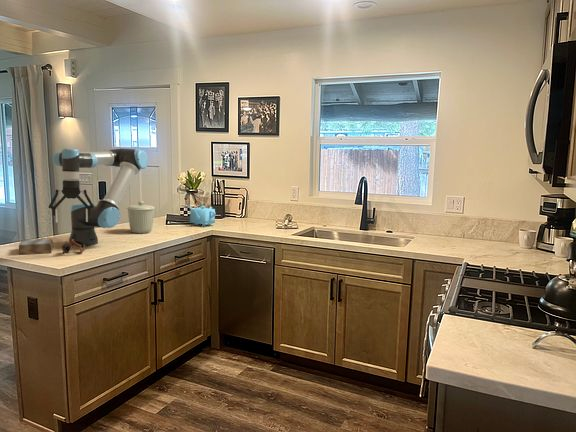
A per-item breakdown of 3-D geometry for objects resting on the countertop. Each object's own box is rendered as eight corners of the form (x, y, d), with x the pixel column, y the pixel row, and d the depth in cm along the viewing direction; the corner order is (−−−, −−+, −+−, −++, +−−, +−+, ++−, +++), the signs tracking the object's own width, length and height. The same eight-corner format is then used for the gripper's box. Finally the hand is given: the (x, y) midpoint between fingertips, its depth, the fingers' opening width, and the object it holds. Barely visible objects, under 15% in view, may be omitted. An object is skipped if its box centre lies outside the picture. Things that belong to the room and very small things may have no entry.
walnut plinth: (52, 247, 227) (52, 238, 226) (51, 253, 215) (51, 243, 214) (22, 248, 221) (21, 239, 220) (18, 254, 209) (18, 245, 208)
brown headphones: (68, 251, 222) (77, 238, 222) (82, 261, 220) (90, 247, 221) (53, 250, 210) (62, 236, 211) (67, 260, 209) (76, 246, 209)
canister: (127, 229, 287) (127, 199, 284) (155, 229, 293) (155, 199, 290) (126, 234, 270) (125, 202, 267) (155, 234, 276) (155, 202, 273)
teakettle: (216, 227, 314) (217, 207, 312) (191, 227, 307) (191, 207, 305) (211, 223, 331) (212, 204, 329) (187, 223, 324) (187, 204, 322)
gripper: (98, 179, 219) (98, 220, 222) (42, 178, 208) (44, 221, 211) (98, 180, 213) (99, 222, 215) (41, 179, 202) (43, 223, 204)
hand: (72, 221), depth 213 cm, fingers open, 13 cm apart
